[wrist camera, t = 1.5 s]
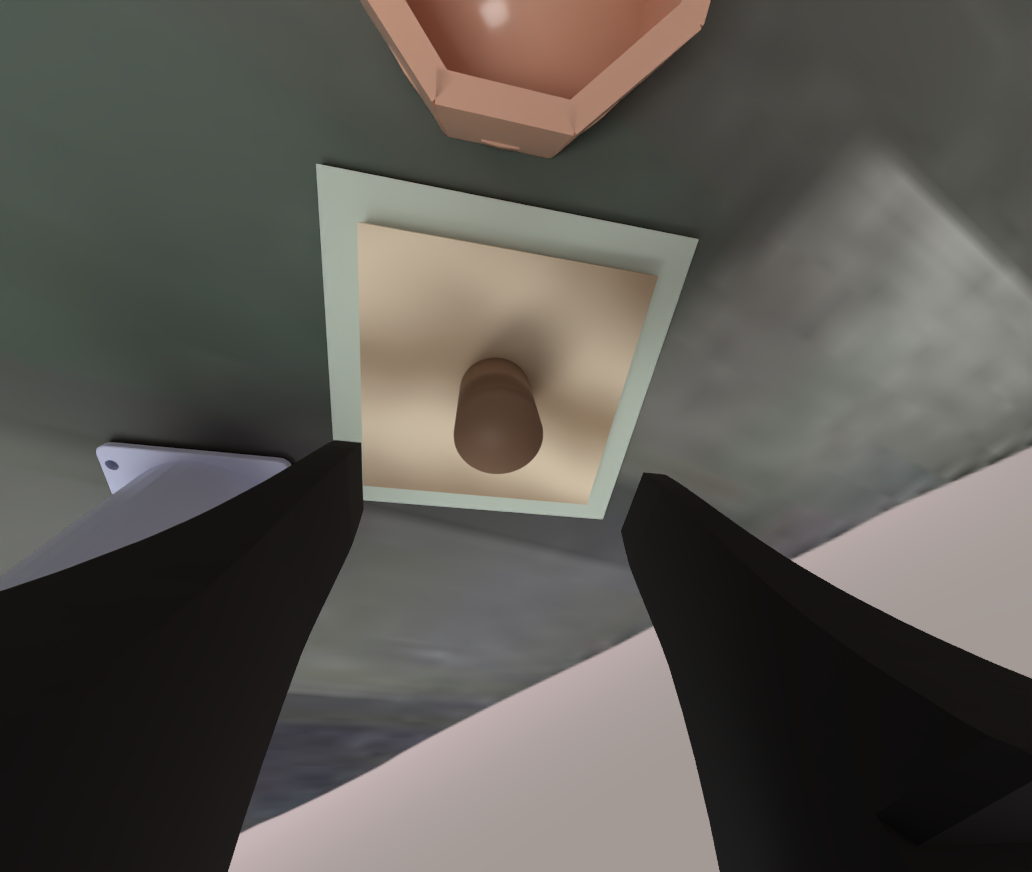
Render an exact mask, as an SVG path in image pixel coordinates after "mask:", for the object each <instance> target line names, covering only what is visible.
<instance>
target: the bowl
mask: <svg viewBox="0 0 1032 872" xmlns="http://www.w3.org/2000/svg"><path fill="white" fill-rule="evenodd" d="M360 1H361V3H362V5H363V7H364V9H365V11H366V12H367V14H368V15H369V17H370V19H371V20H372V22H373V23H374V25H375V26H376V28H377V29H378V31H379V33H380V34H381V36H382V37H383V39H384V40H385V42H386V43H387V45H388V47H389V48H390V50H391V51H392V53H393V54H394V56H395V58H396V60H397V62H398V63H399V65H400V67H401V69H402V70H403V72H404V74H405V76H406V77H407V79H408V80H409V82H410V83H411V85H412V86H413V87H414V89H415V90H416V92H417V93H418V94H419V96H420V97H421V98H422V100H423V101H424V103H425V104H426V106H427V107H428V109H429V110H430V112H431V114H432V115H433V117H434V118H435V120H436V121H437V123H438V124H439V126H440V128H441V129H442V131H443V132H444V134H445V135H446V134H447V137H452V138H456V139H461V140H466V141H470V142H475V143H479V144H482V145H486V146H489V147H492V148H496V149H499V150H506V151H513V152H521V153H525V154H530V155H535V156H539V157H544V158H548V159H550V158H551V157H552V158H553V157H554V156H555V155H557V154H558V153H559V152H560V151H561V150H563V149H564V148H565V147H566V146H567V145H568V144H570V143H571V142H572V141H573V140H574V139H576V138H577V137H578V136H579V135H581V134H582V133H583V132H585V131H586V130H588V129H589V128H590V127H592V126H593V125H594V124H596V123H597V122H598V121H599V120H600V119H601V118H602V117H604V116H605V115H606V114H607V113H608V112H609V111H610V110H611V109H612V108H613V107H614V106H615V105H616V104H617V103H618V102H619V101H621V100H622V99H623V98H624V97H625V96H627V95H628V94H629V93H630V92H631V91H632V90H634V89H635V88H636V87H637V86H638V85H640V84H641V83H642V82H643V81H644V80H645V79H646V78H648V77H649V76H650V75H651V74H652V73H653V72H654V71H655V70H656V69H658V68H659V67H660V66H661V65H662V64H663V63H664V62H665V61H666V60H668V59H669V58H670V57H671V56H672V55H673V54H674V53H675V52H676V51H678V50H679V49H680V48H681V47H682V46H683V45H684V44H685V43H687V42H688V41H689V40H690V39H691V38H692V37H693V36H694V35H695V34H697V33H698V32H699V31H700V30H701V27H702V26H703V25H704V23H705V19H706V16H707V12H708V9H709V5H710V2H711V0H360Z"/></svg>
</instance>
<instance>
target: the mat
mask: <svg viewBox="0 0 1032 872" xmlns="http://www.w3.org/2000/svg"><path fill="white" fill-rule="evenodd" d="M316 172H317V188H318V204H319V220H320V236H321V252H322V268H323V284H324V300H325V316H326V332H327V348H328V364H329V380H330V396H331V412H332V428H333V441H334V440H341V441H350V442H360V443H361V447H362V413H361V369H360V326H359V282H358V238H357V222H364V223H369V224H375V225H381V226H386V227H392V228H397V229H403V230H408V231H414V232H419V233H425V234H431V235H436V236H442V237H447V238H453V239H458V240H464V241H469V242H475V243H481V244H486V245H492V246H497V247H503V248H508V249H514V250H519V251H525V252H531V253H536V254H542V255H547V256H553V257H558V258H564V259H569V260H575V261H581V262H586V263H592V264H597V265H603V266H608V267H614V268H619V269H625V270H631V271H636V272H642V273H647V274H652V275H655V276H658V279H657V282H656V285H655V288H654V291H653V295H652V298H651V301H650V304H649V308H648V311H647V314H646V317H645V320H644V324H643V327H642V330H641V333H640V336H639V340H638V343H637V346H636V349H635V352H634V356H633V359H632V362H631V365H630V368H629V372H628V375H627V378H626V381H625V384H624V388H623V391H622V394H621V397H620V400H619V404H618V407H617V410H616V413H615V416H614V420H613V423H612V426H611V429H610V432H609V436H608V439H607V442H606V445H605V448H604V452H603V455H602V458H601V461H600V464H599V468H598V471H597V474H596V477H595V480H594V484H593V487H592V490H591V493H590V496H589V500H588V503H587V505H584V504H572V503H560V502H549V501H537V500H525V499H513V498H502V497H490V496H478V495H466V494H455V493H443V492H431V491H419V490H408V489H396V488H384V487H373V486H363V500H368V501H380V502H393V503H405V504H418V505H430V506H443V507H455V508H468V509H480V510H493V511H505V512H518V513H530V514H543V515H555V516H568V517H580V518H593V519H603V517H604V514H605V511H606V508H607V505H608V502H609V500H610V497H611V494H612V491H613V488H614V485H615V482H616V479H617V476H618V473H619V470H620V467H621V465H622V462H623V459H624V456H625V453H626V450H627V447H628V444H629V441H630V438H631V435H632V433H633V430H634V427H635V424H636V421H637V418H638V415H639V412H640V409H641V406H642V403H643V401H644V398H645V395H646V392H647V389H648V386H649V383H650V380H651V377H652V374H653V371H654V369H655V366H656V363H657V360H658V357H659V354H660V351H661V348H662V345H663V342H664V339H665V337H666V334H667V331H668V328H669V325H670V322H671V319H672V316H673V313H674V310H675V307H676V304H677V302H678V299H679V296H680V293H681V290H682V287H683V284H684V281H685V278H686V275H687V272H688V270H689V267H690V264H691V261H692V258H693V255H694V252H695V249H696V246H697V243H698V240H699V239H695V238H690V237H685V236H680V235H675V234H670V233H665V232H660V231H655V230H650V229H645V228H640V227H634V226H629V225H624V224H619V223H614V222H609V221H604V220H599V219H594V218H589V217H584V216H579V215H574V214H569V213H564V212H559V211H554V210H549V209H543V208H538V207H533V206H528V205H523V204H518V203H513V202H508V201H503V200H498V199H493V198H488V197H483V196H478V195H473V194H468V193H463V192H458V191H452V190H447V189H442V188H437V187H432V186H427V185H422V184H417V183H412V182H407V181H402V180H397V179H392V178H387V177H382V176H377V175H372V174H367V173H361V172H356V171H351V170H346V169H341V168H336V167H331V166H326V165H321V164H316ZM362 479H363V457H362Z"/></svg>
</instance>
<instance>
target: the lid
mask: <svg viewBox="0 0 1032 872" xmlns="http://www.w3.org/2000/svg"><path fill="white" fill-rule="evenodd" d="M357 238H358V282H359V326H360V369H361V413H362V457H363V486H373V487H384V488H396V489H408V490H419V491H431V492H443V493H455V494H466V495H478V496H490V497H502V498H513V499H525V500H537V501H549V502H560V503H572V504H584V505H587V503H588V500H589V496H590V493H591V490H592V487H593V484H594V480H595V477H596V474H597V471H598V468H599V464H600V461H601V458H602V455H603V452H604V448H605V445H606V442H607V439H608V436H609V432H610V429H611V426H612V423H613V420H614V416H615V413H616V410H617V407H618V404H619V400H620V397H621V394H622V391H623V388H624V384H625V381H626V378H627V375H628V372H629V368H630V365H631V362H632V359H633V356H634V352H635V349H636V346H637V343H638V340H639V336H640V333H641V330H642V327H643V324H644V320H645V317H646V314H647V311H648V308H649V304H650V301H651V298H652V295H653V291H654V288H655V285H656V282H657V279H658V276H655V275H652V274H647V273H642V272H636V271H631V270H625V269H619V268H614V267H608V266H603V265H597V264H592V263H586V262H581V261H575V260H569V259H564V258H558V257H553V256H547V255H542V254H536V253H531V252H525V251H519V250H514V249H508V248H503V247H497V246H492V245H486V244H481V243H475V242H469V241H464V240H458V239H453V238H447V237H442V236H436V235H431V234H425V233H419V232H414V231H408V230H403V229H397V228H392V227H386V226H381V225H375V224H369V223H364V222H357Z"/></svg>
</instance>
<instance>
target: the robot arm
mask: <svg viewBox="0 0 1032 872" xmlns="http://www.w3.org/2000/svg"><path fill="white" fill-rule="evenodd" d="M96 454H97V457H98V459H99V462H100V464H101V467H102V469H103V472H104V474H105V477H106V480H107V482H108V485H109V487H110V490H111V492H112V495H111V496H110V497H108V498H107V499H106V500H104V501H103V502H101V503H100V504H99V505H97V506H96V507H95V508H93V509H92V510H90V511H89V512H88V513H86V514H85V515H84V516H82V517H81V518H79V519H78V520H77V521H75V522H74V523H73V524H71V525H70V526H68V527H67V528H66V529H64V530H63V531H62V532H60V533H59V534H57V535H56V536H55V537H53V538H52V539H50V540H49V541H48V542H46V543H45V544H44V545H42V546H41V547H39V548H38V549H37V550H35V551H34V552H33V553H31V554H30V555H28V556H27V557H26V558H24V559H23V560H22V561H20V562H19V563H17V564H16V565H15V566H13V567H12V568H11V569H9V570H8V571H6V572H5V573H4V574H2V575H1V576H0V872H228V869H229V866H230V863H231V860H232V856H233V853H234V850H235V846H236V843H237V840H238V837H239V834H240V830H241V827H242V824H243V821H244V818H245V815H246V812H247V809H248V806H249V803H250V800H251V797H252V794H253V791H254V788H255V785H256V782H257V779H258V776H259V773H260V770H261V766H262V763H263V760H264V757H265V755H266V752H267V749H268V746H269V743H270V740H271V737H272V734H273V731H274V729H275V726H276V723H277V720H278V717H279V714H280V711H281V708H282V706H283V703H284V700H285V697H286V694H287V692H288V689H289V686H290V684H291V681H292V678H293V675H294V673H295V670H296V667H297V664H298V662H299V659H300V656H301V654H302V651H303V649H304V647H305V644H306V642H307V640H308V637H309V635H310V633H311V630H312V628H313V626H314V624H315V622H316V620H317V618H318V616H319V614H320V612H321V610H322V607H323V605H324V603H325V601H326V599H327V597H328V595H329V593H330V591H331V589H332V587H333V584H334V582H335V580H336V578H337V576H338V574H339V572H340V570H341V568H342V565H343V563H344V561H345V559H346V557H347V555H348V553H349V550H350V548H351V546H352V543H353V540H354V537H355V534H356V532H357V528H358V525H359V522H360V519H361V516H362V512H363V479H362V447H361V443H360V442H350V441H341V440H334V441H332V442H330V443H328V444H326V445H325V446H323V447H321V448H319V449H318V450H316V451H314V452H313V453H311V454H309V455H308V456H306V457H304V458H303V459H301V460H299V461H298V462H296V463H294V464H293V465H291V463H290V462H289V461H287V460H286V459H283V458H278V457H267V456H257V455H246V454H235V453H224V452H213V451H203V450H192V449H181V448H170V447H159V446H148V445H138V444H127V443H116V442H106V443H105V444H103V445H101V446H99V447H98V448H97V449H96ZM114 462H116V463H117V464H116V463H114ZM621 533H622V537H623V542H624V546H625V550H626V554H627V558H628V562H629V566H630V568H631V571H632V573H633V576H634V579H635V581H636V584H637V586H638V589H639V591H640V594H641V596H642V599H643V601H644V604H645V606H646V609H647V611H648V614H649V616H650V619H651V621H652V624H653V626H654V628H655V631H656V633H657V636H658V638H659V641H660V643H661V646H662V648H663V651H664V654H665V657H666V659H667V662H668V665H669V668H670V671H671V675H672V678H673V682H674V685H675V688H676V692H677V695H678V699H679V702H680V705H681V709H682V712H683V716H684V720H685V723H686V727H687V731H688V735H689V739H690V742H691V746H692V750H693V754H694V757H695V761H696V766H697V770H698V774H699V778H700V782H701V787H702V791H703V795H704V800H705V804H706V808H707V812H708V817H709V821H710V826H711V831H712V835H713V840H714V846H715V850H716V855H717V860H718V865H719V870H720V872H1032V679H1031V678H1029V677H1026V676H1024V675H1021V674H1019V673H1017V672H1014V671H1012V670H1009V669H1007V668H1004V667H1002V666H999V665H997V664H994V663H992V662H990V661H988V660H985V659H983V658H981V657H978V656H976V655H974V654H972V653H970V652H967V651H965V650H963V649H961V648H958V647H956V646H954V645H951V644H949V643H947V642H945V641H943V640H941V639H938V638H936V637H934V636H932V635H930V634H927V633H925V632H923V631H921V630H919V629H917V628H915V627H913V626H911V625H908V624H906V623H904V622H902V621H900V620H898V619H896V618H894V617H893V616H891V615H889V614H887V613H884V612H883V611H881V610H879V609H877V608H875V607H873V606H871V605H869V604H867V603H865V602H863V601H861V600H859V599H857V598H856V597H854V596H852V595H850V594H848V593H846V592H844V591H843V590H841V589H839V588H837V587H835V586H834V585H831V584H830V583H828V582H827V581H825V580H823V579H821V578H820V577H818V576H816V575H814V574H813V573H811V572H810V571H808V570H806V569H804V568H803V567H801V566H799V565H797V564H796V563H794V562H793V561H791V560H790V559H788V558H786V557H785V556H783V555H782V554H780V553H779V552H777V551H776V550H774V549H773V548H771V547H770V546H768V545H766V544H765V543H763V542H762V541H760V540H759V539H757V538H756V537H754V536H753V535H752V534H750V533H749V532H747V531H746V530H744V529H743V528H741V527H740V526H739V525H737V524H736V523H734V522H733V521H731V520H730V519H729V518H727V517H726V516H724V515H723V514H722V513H720V512H719V511H718V510H716V509H715V508H713V507H712V506H711V505H709V504H708V503H706V502H705V501H704V500H702V499H701V498H700V497H698V496H697V495H695V494H694V493H693V492H691V491H690V490H688V489H687V488H685V487H684V486H683V485H681V484H680V483H678V482H676V481H675V480H673V479H672V478H670V477H668V476H666V475H663V474H653V473H644V472H643V475H642V478H641V480H640V483H639V485H638V488H637V491H636V493H635V496H634V499H633V501H632V504H631V506H630V509H629V512H628V514H627V517H626V519H625V522H624V525H623V527H622V530H621Z"/></svg>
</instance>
